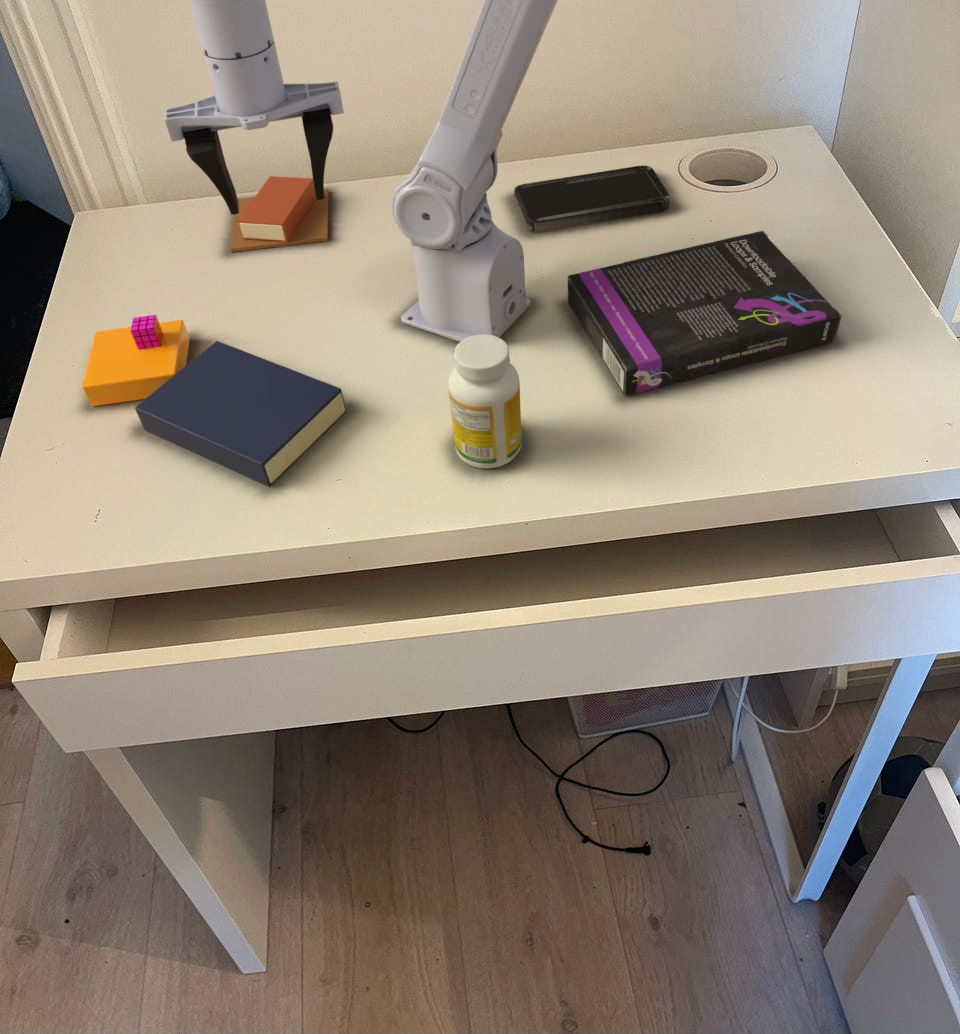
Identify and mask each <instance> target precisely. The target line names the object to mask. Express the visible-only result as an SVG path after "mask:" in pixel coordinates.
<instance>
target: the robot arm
mask: <svg viewBox="0 0 960 1034" xmlns="http://www.w3.org/2000/svg"><path fill="white" fill-rule="evenodd" d="M187 2H188V7H189V9H190V13H191V16H192V19H193V24H194V27H195V30H196V31H195V32H196V35H197V38H198V42H199V45H200V49H201V52H202V55H203V59H204V63H205V66H206V69H207V72H208V77H209V81H210V84H211V88H212V90H213V95H211V96H209V97H205V98H202V99H199V100H196V101H193V102H189V103H185V104H183V105H179V106H175V107H170V108H169V107H168V108H165V109H164V112H163V114H164V115H163V120H164V123H165V127H166V130H167V133H168V137H169V139H170V142H178V141H182V140H184V143H185V151H186V153H187V155H188V157H189V158H190V160H191V161H192V162H193V163H194V164H195V165H196V166H197V167H198V168H200V170H201V171H202V172H203V173H204V174H205V175H206V176H207V178H208V179H209V180H210V182H212V184H213V185H214V187H215V188H216V189H217V191H218V192H219V194H220V195H221V197H222V199H223V200H224V202H225V204H226V206H227V208H228V210H229V212H230V215H231V216H232V215H233V216H235V214H239V204H238V199H239V198H238V195H237V191H236V189H235V186H234V182H233V180H232V178H231V175H230V172H229V169H228V166H227V163H226V160H225V155H224V152H223V148H222V147H223V146H222V144H221V140H220V136H219V131H223V130H229V129H236V128H242V129H243V130H244V131H252V130H257V129H264V128H267V127H268V126H269V123H271V122H278V121H285V120H289V119H295V118H301V122H302V126H303V132H304V137H305V142H306V146H307V150H308V154H309V159H310V167H311V176H312V179H313V182H314V188H315V193H316V197H317V200H321V199H324V198H325V197H324V189H325V188H324V185H325V184H324V182H325V168H326V163H327V157H328V152H329V149H330V145H331V141H332V138H333V133H334V123H333V118H332V116H337V115H341V114H344V112H345V111H344V107H343V106H344V105H343V99H342V94H341V89H340V85H339V82H338V81H329V82H320V83H319V82H318V83H315V82H313V83H284V78H283V74H282V69H281V65H280V60H279V56H278V55H279V54H278V52H277V47H276V42H275V38H274V33H273V30H272V24H271V21H270V15H269V12H268V7H267V3H266V2H267V1H266V0H187ZM558 2H559V0H483V1H482V3H481V5H480V6H481V7H480V9H479V11H478V14H477V17H476V20H475V22H474V25H473V27H472V30H471V33H470V35H469V39H468V41H467V44H466V46H465V48H464V51H463V54H462V57H461V59H460V62H459V65H458V68H457V71H456V74H455V76H454V78H453V81H452V84H451V87H450V89H449V93H448V94H447V96H446V97H447V98H446V100H445V102H444V106H443V109H442V110H441V114H440V117H439V119H438V122H437V124H436V126H435V128H434V129H433V132H432V134H431V136H430V137H429V140H428V142H427V143H426V145H425V147H424V149H423V151H422V153H421V155H420V157H419V159H418V161H417V163H416V164H415V166H414V167H413V169H412V170H411V172H409V174H408V175H407V177H406V178H405V179H404V180H403V181H402V182H401V183H400V184H399V185H398V186H397V187H396V188H395V190H394V192H393V195H392V197H391V214H392V218H393V220H394V223H395V224H396V226H397V227H398V229H399V231H400V232H401V233H402V234H403V235H404V236H405V237H406V238H407V239H409V242H410V250H411V257H412V261H413V262H412V263H413V272H414V277H415V284H416V285H415V286H416V291H417V297H418V298H417V299H418V300H417V301H416V302H415V303H414V304H413V305H412V306H411V307H410V308H408V309H407V311H405V312H404V313H403V314H402V315H401V316H400V321H401V323H403V324H405V325H408V326H411V327H414V328H417V329H420V330H423V331H426V332H429V333H432V334H435V335H438V336H441V337H444V338H447V339H450V340H452V341H456V342H458V343H460V342H461V341H462V340H464V339H466V338H468V337H470V336H474V335H480V334H487V335H493V336H496V337H499V338H501V337H502V335H503V334H504V333H505V332H506V331H507V330H508V329H509V328H510V327H511V326H512V325H513V324H514V323H515V322H516V321H517V320H518V319H519V318H520V317H521V315H522V314H523V313H524V312H525V311H526V310H527V309H528V308H529V307H530V306H531V299H530V298H528V297H526V295H527V294H526V274H525V273H526V271H525V254H524V248H523V245H522V243H521V242H520V240H518V239H517V238H515V237H513V236H511V235H509V234H508V233H506V232H504V231H503V230H501V228H499V227H498V226H497V225H496V223H495V222H494V221H493V216H492V211H491V207H490V205H489V203H488V194H487V192H488V191H489V190H490V188H491V187H492V186H494V183H495V181H496V179H497V175H498V168H499V167H498V155H497V154H498V147H499V145H500V142H501V140H502V138H503V135H504V134H503V130H502V129H503V127H504V125H505V123H506V120H507V118H508V117H509V113H510V112H511V109H512V106H513V105H514V102H515V100H516V97H517V95H518V93H519V91H520V88H521V86H522V84H523V81H524V79H525V77H526V74H527V72H528V70H529V67H530V65H531V64H532V63H531V62H532V60H533V58H534V57H535V54H536V52H537V50H538V47H539V45H540V42H541V40H542V37H543V35H544V33H545V30H546V28H547V26H548V24H549V22H550V19H551V17H552V15H553V13H554V10H555V8H556V5H557V3H558Z"/></svg>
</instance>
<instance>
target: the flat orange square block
mask: <svg viewBox="0 0 960 1034" xmlns="http://www.w3.org/2000/svg"><path fill="white" fill-rule="evenodd" d="M189 348H190V335H189V333H188V330H187V328H186V325H185V322H184V320H183V319H178V320H170V321H164V322H163V321H162V322H160V321H159V319H158V317H157V314H151V315H150V314H149V315H144V316H143V315H142V316H135V317H132V322H131V326H126V327H119V328H113V329H105V330H98V331H95V332H94V337H93V340H92V344H91V348H90V353H89V357H88V362H87V366H86V369H85V374H84V378H83V382H82V390H83V393H84V394H85V396H86V398H87V400H88V402H89V404H90V406H91V407H96V406H104V405H111V404H118V403H126V402H132V401H133V402H134V401H139V400H140V401H141V400H145V399H146V398H147V397H148V396H150V395H151V394H152V393H153V392H154V391H156V390H157V389H158V388H159V387H161V386H162V385H163V384H164V383H166V382H167V381H168V380H169V379H170V378H172V377H173V376H174V375H175V374H177V373H178V372H179V371H180V370H181V369H183V368H184V367H185V366H186V365H188V363H187V362H188V355H189Z"/></svg>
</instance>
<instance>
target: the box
mask: <svg viewBox="0 0 960 1034" xmlns="http://www.w3.org/2000/svg"><path fill="white" fill-rule="evenodd" d="M567 303H568V306H569V307H570V308H571V310H572V312H573V313H574V315H575V317H576V318H577V320H578V322H579V323H580V325H581V327H582V328H583V329H584V332H585V334H586V335H587V336H588V339H589V340H590V341H591V343H592V344H593V346H594V348H595V350H596V351H597V353H598V355H599V356H600V358H601V359H602V361H603V362H604V364H605V366H606V367H607V369H608V371H609V372H610V374H611V376H612V378H613V379H614V381H615V382H616V384H617V385H618V387H619V389H620V391H621V392H622V394H623V396H624V397H626V396H631V395H633V394H638V393H642V392H645V391H649V390H653V389H658V388H660V387H664V386H667V385H672V384H675V383H679V382H683V381H687V380H691V379H694V378H699V377H702V376H707V375H709V374H714V373H718V372H722V371H726V370H729V369H733V368H737V367H741V366H744V365H748V364H753V363H757V362H760V361H764V360H769V359H771V358H776V357H779V356H783V355H787V354H791V353H794V352H799V351H803V350H806V349H810V348H813V347H818V346H821V345H825V344H829V343H833V342H835V340H836V339H837V338H836V337H837V335H838V331H839V328H840V324H841V321H842V317H843V313H841V312H840V311H839V310H838V309H836V308H835V307H833V305H832V304H831V303H830V302H829V301H828V300H827V299H826V297H824V295H822V294H821V292H820V291H819V290H818V289H817V288H816V287H815V286H814V285H813V283H812V282H811V281H809V279H808V278H807V277H806V276H805V275H804V274H803V273H802V272H801V271H800V270H799V268H797V267H796V266H795V265H794V263H792V261H791V260H790V259H789V258H788V257H787V256H786V255H785V254H784V253H783V252H782V251H781V250H780V249H779V248H778V247H777V245H775V243H774V242H773V241H772V240H771V239H770V238H769V236H768V235H767V233H766V232H765V231H764V230H759V231H755V232H751V233H745V234H742V235H737V236H733V237H732V236H731V237H728V238H724V239H720V240H719V239H718V240H714V241H711V242H707V243H702V244H698V245H694V246H689V247H685V248H681V249H677V250H672V251H667V252H663V253H659V254H654V255H650V256H646V257H641V258H636V259H632V260H631V259H630V260H628V261H624V262H621V263H616V264H612V265H608V266H604V267H599V268H594V269H590V270H586V271H582V272H578V273H573V274H569V275H568V276H567Z"/></svg>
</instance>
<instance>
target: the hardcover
mask: <svg viewBox="0 0 960 1034" xmlns="http://www.w3.org/2000/svg"><path fill="white" fill-rule="evenodd" d="M134 410H135V412H136V415H137V416H138V418H139V421H140V423H141V425H142V428H143V430H144V431H145V432H147V433H150V434H152V435H154V436H157V438H161V439H163V440H165V441H166V442H169V443H172V444H173V445H176V446H178V447H181V448H182V449H185V450H186V451H189V452H192V454H193V453H194V454H196V455H198V456H200V457H203V458H204V459H207V460H208V461H211V462H213V463H215V464H218V465H220V466H222V467H224V468H226V469H227V470H228V469H229V470H230V471H233V472H234V473H238V474H239V475H241V476H243V477H246V478H248V479H250V480H253V481H255V482H257V483H259V484H261V485H263V486H266V487H268V488H270V487H272V486H273V484H275V483H276V482H277V481H278V480H279V479H280V478H281V477H282V476H283V475H284V474H285V473H286V472H287V471H288V470H289V469H290V468H291V467H292V466H293V465H294V464H295V463H296V462H297V461H299V459H300V458H301V457H302V456H303V455H305V454H306V452H307V451H309V449H311V447H312V446H313V445H315V444H316V443H317V442H318V440H320V439H321V438H322V437H323V436H324V435H325V434H326V433H327V432H328V431H329V430H330V429H331V428H332V427H333V426H334V425H335V424H336V423H337V422H338V421H339V420H340V419H341V418H342V417H344V415H345V414H346V413H347V407H346V403H345V399H344V395H343V391H342V388H340V387H338V386H336V385H333V384H330V383H328V382H325V381H322V380H320V379H317V378H315V377H312V376H309V375H307V374H305V373H302V372H299V371H297V370H294V369H291V368H289V367H286V366H283V365H280V364H278V363H276V362H273V361H270V360H269V359H266V358H264V357H260V356H257V355H254V354H253V353H251V352H247V351H244V350H242V349H240V348H237V347H234V346H233V345H232V346H231V345H230V344H226V343H224V342H221V341H219V340H215V341H214V342H213V343H212V344H211V345H210V346H208V347H207V348H206V349H205V350H203V351H202V352H201V353H199V354H198V355H197V356H196V357H195V358H194V359H193V360H191V361H190V362H189V363H187V364H186V366H185V367H184V368H183V369H181V370H180V371H179V372H178V373H177V374H175V375H174V376H173V377H172V378H170V379H169V380H168V381H167V382H166V383H164V384H163V385H162V386H161V387H159V388H158V389H157V390H156V391H154V392H153V393H152V394H151V395H150V396H148V397H147V398H146V399H142V401H141V402H140V403H138V404H137V405H136V406H135V407H134Z"/></svg>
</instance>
